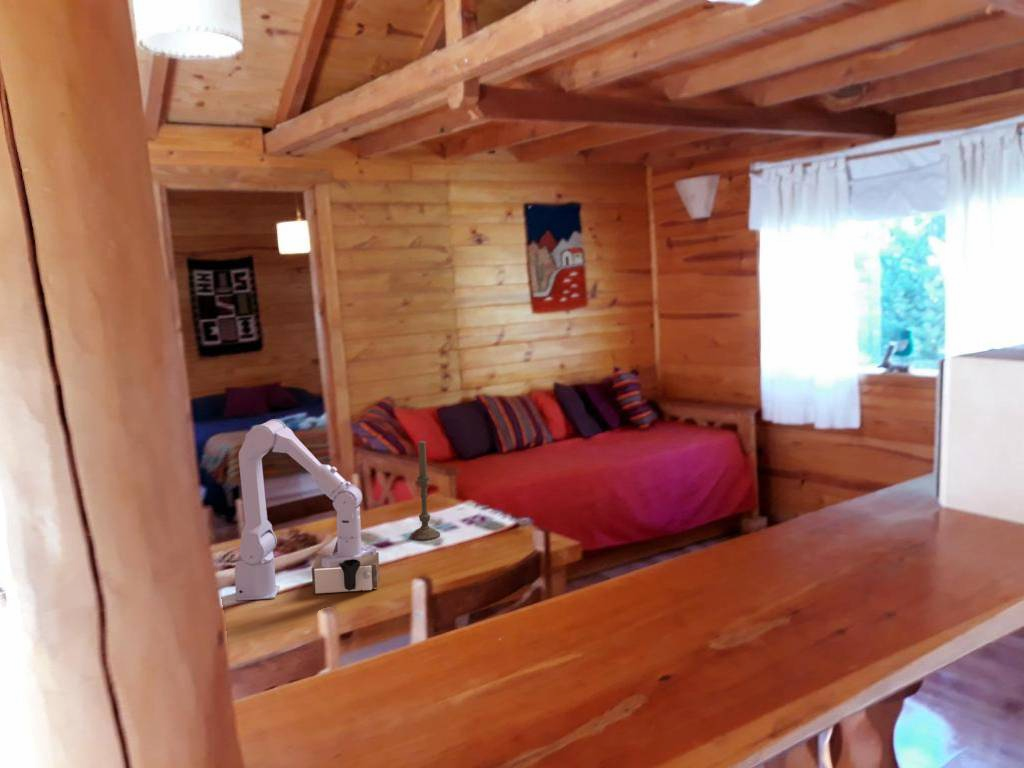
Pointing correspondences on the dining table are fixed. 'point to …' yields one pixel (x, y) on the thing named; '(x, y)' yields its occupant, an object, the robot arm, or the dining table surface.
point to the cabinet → (364, 561)
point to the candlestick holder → (424, 500)
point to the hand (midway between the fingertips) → (350, 588)
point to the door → (341, 579)
